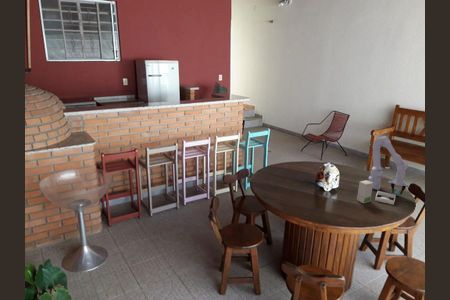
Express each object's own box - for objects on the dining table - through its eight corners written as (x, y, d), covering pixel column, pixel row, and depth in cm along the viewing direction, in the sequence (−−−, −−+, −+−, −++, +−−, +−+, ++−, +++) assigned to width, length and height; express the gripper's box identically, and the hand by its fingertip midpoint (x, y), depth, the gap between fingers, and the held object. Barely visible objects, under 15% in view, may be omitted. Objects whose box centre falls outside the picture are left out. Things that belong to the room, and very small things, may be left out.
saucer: (379, 199, 241) (379, 199, 241) (380, 196, 247) (380, 195, 246) (389, 202, 237) (389, 201, 237) (390, 198, 243) (390, 198, 243)
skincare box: (363, 203, 235) (366, 184, 230) (355, 200, 240) (358, 181, 235) (370, 201, 238) (373, 182, 234) (363, 197, 244) (366, 179, 239)
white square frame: (374, 200, 240) (375, 196, 239) (377, 194, 251) (377, 190, 250) (393, 204, 234) (394, 201, 233) (395, 198, 244) (395, 194, 243)
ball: (392, 195, 247) (393, 189, 246) (393, 193, 252) (394, 187, 250) (399, 197, 245) (400, 191, 243) (400, 194, 249) (401, 189, 248)
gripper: (389, 177, 244) (386, 193, 248) (410, 181, 237) (406, 197, 241) (390, 174, 250) (387, 189, 254) (410, 178, 243) (407, 194, 247)
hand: (396, 193), depth 248 cm, fingers closed on ball, 5 cm apart
